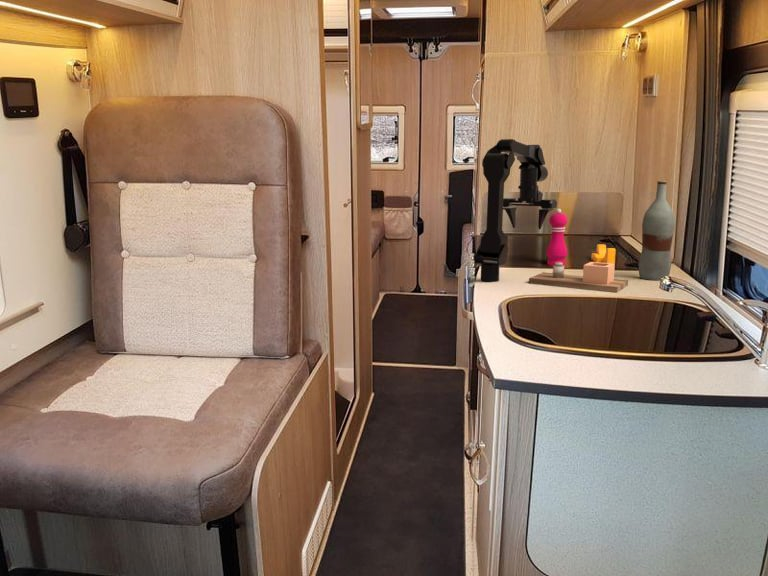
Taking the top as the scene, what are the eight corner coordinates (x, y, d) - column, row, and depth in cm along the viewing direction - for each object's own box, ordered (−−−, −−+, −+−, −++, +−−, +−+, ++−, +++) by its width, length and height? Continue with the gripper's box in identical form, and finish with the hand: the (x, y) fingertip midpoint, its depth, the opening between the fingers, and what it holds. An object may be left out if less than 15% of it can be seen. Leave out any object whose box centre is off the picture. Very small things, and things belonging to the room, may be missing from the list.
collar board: (617, 292, 175) (618, 271, 173) (528, 283, 189) (529, 263, 188) (627, 285, 184) (629, 265, 183) (543, 276, 199) (543, 258, 198)
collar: (607, 284, 178) (608, 267, 177) (582, 281, 182) (583, 265, 181) (613, 280, 184) (614, 263, 183) (589, 278, 188) (590, 261, 187)
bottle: (636, 279, 193) (645, 181, 187) (638, 274, 201) (646, 180, 195) (670, 281, 189) (679, 181, 183) (670, 276, 197) (678, 180, 191)
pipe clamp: (591, 262, 228) (592, 244, 227) (603, 261, 228) (604, 244, 226) (601, 267, 216) (603, 249, 215) (614, 267, 216) (615, 248, 215)
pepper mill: (552, 267, 216) (555, 209, 212) (541, 264, 223) (544, 208, 219) (570, 266, 218) (573, 209, 214) (559, 263, 225) (562, 207, 221)
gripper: (563, 182, 212) (561, 227, 215) (511, 181, 222) (510, 225, 225) (552, 183, 203) (550, 230, 206) (499, 182, 213) (497, 228, 216)
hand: (526, 228), depth 214 cm, fingers open, 9 cm apart
